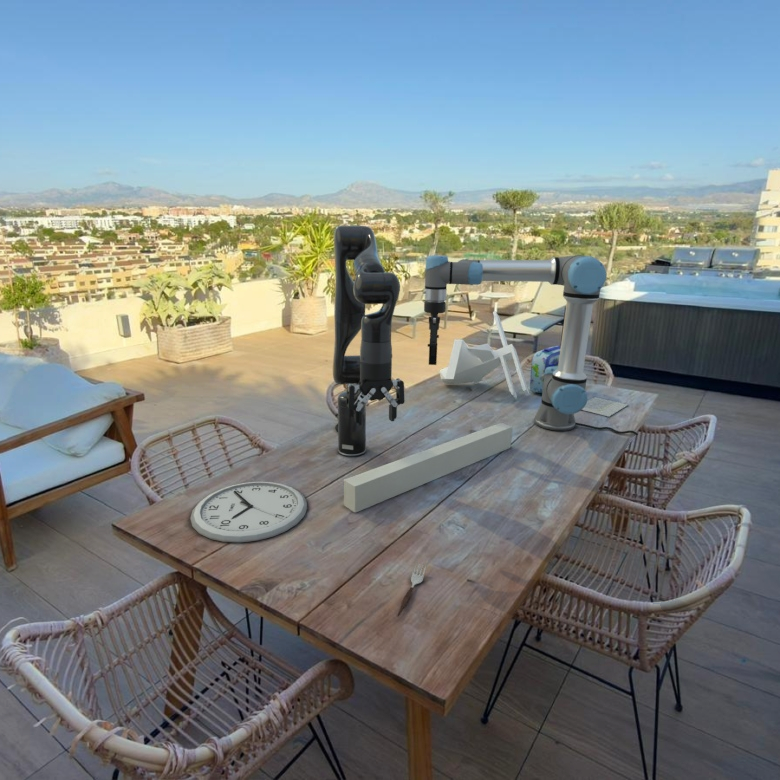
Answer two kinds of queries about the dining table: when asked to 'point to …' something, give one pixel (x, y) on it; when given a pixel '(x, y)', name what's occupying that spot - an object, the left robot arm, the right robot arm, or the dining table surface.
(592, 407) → the invitation card
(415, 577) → the fork
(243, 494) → the wall clock
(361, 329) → the left robot arm
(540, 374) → the lunch box
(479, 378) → the white plastic object
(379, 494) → the bar
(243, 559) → the dining table surface
